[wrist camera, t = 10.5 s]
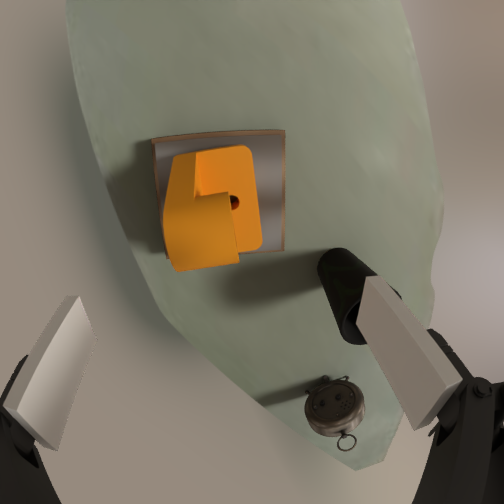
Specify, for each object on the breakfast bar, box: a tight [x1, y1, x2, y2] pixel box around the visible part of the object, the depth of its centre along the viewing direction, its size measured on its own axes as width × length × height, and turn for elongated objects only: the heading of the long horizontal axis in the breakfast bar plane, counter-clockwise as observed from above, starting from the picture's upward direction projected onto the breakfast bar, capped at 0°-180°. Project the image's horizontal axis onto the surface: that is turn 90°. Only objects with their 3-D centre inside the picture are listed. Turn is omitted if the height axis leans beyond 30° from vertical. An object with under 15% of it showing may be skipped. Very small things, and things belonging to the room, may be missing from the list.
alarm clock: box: [304, 376, 365, 452], centre depth 42 cm, size 11×5×16 cm, turn 109°
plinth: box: [151, 130, 285, 259], centre depth 31 cm, size 14×14×3 cm
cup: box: [317, 248, 402, 345], centre depth 33 cm, size 8×8×12 cm
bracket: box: [163, 144, 263, 272], centre depth 24 cm, size 11×7×12 cm, turn 7°
